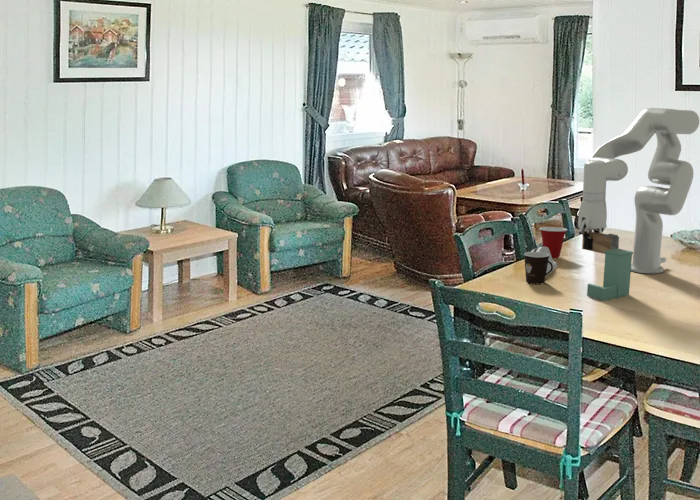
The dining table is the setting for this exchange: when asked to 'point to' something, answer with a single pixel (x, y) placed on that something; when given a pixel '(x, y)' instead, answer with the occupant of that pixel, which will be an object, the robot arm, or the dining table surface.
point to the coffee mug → (536, 267)
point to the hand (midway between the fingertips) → (592, 247)
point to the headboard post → (613, 276)
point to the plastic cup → (553, 239)
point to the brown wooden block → (603, 242)
